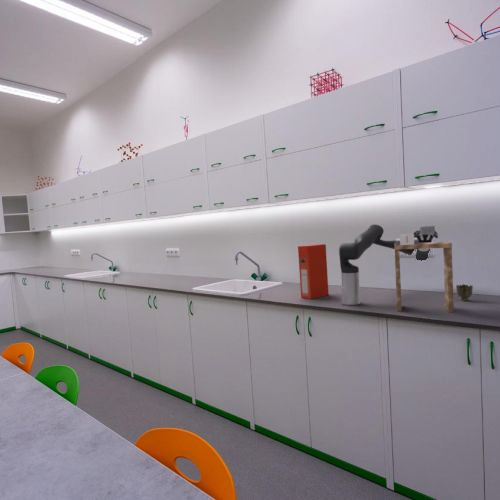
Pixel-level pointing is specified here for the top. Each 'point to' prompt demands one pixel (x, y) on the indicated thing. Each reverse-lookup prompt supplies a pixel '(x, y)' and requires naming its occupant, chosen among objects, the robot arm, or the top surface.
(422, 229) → the block
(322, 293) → the file binder
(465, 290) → the cup
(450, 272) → the oak shelf
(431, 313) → the top surface
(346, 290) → the robot arm
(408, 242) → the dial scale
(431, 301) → the top surface
